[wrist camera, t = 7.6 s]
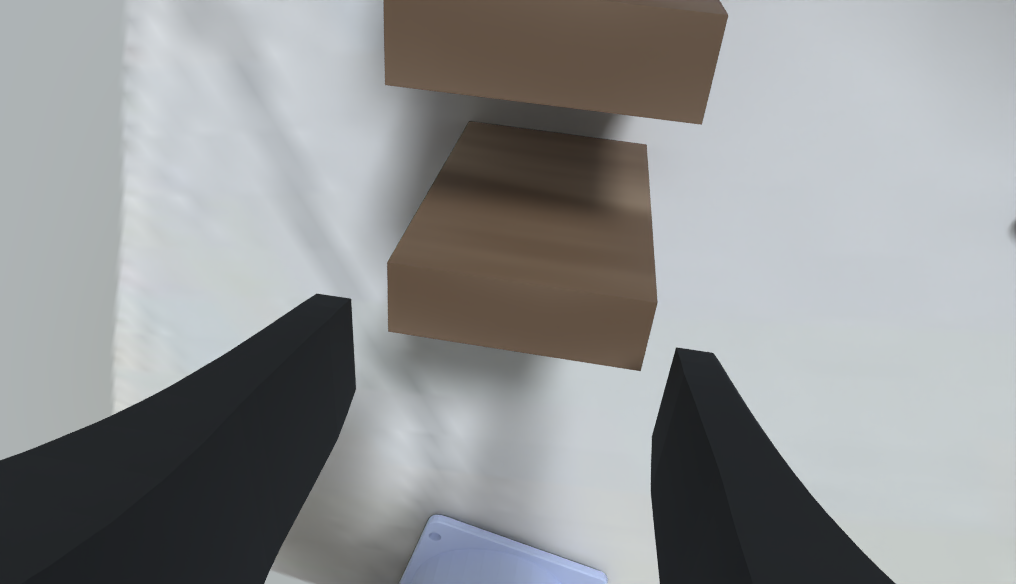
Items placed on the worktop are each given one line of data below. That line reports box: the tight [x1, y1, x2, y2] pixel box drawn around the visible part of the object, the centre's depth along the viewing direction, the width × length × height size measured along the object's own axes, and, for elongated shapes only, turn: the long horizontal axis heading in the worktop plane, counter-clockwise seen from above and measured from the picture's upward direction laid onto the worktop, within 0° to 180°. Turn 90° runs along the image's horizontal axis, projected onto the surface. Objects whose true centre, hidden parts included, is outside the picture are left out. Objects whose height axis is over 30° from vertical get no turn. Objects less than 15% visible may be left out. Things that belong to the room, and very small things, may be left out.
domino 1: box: [384, 0, 728, 124], centre depth 14 cm, size 2×5×8 cm, turn 85°
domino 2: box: [387, 121, 657, 371], centre depth 16 cm, size 2×5×8 cm, turn 85°
